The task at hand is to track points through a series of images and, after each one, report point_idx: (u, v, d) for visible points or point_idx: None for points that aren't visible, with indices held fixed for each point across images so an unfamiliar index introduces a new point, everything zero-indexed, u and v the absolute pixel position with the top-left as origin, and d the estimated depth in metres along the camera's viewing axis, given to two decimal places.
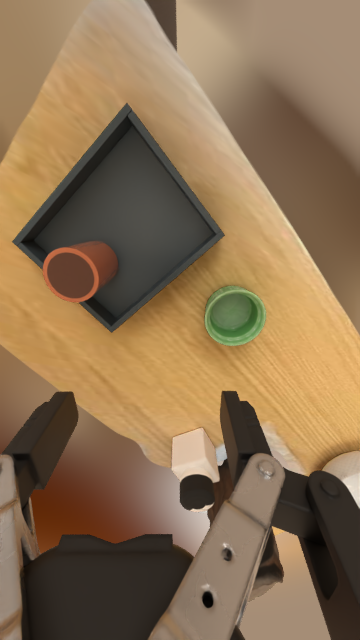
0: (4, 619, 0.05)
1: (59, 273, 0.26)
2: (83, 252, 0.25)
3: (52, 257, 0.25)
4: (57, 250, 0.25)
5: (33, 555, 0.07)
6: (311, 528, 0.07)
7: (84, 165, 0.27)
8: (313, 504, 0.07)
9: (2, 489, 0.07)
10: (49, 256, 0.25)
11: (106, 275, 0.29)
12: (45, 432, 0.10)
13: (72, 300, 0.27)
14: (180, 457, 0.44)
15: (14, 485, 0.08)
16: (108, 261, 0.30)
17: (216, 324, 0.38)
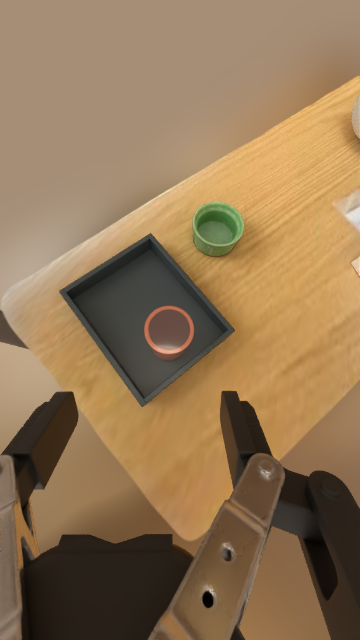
0: (4, 619, 0.05)
1: (166, 338, 0.28)
2: (149, 315, 0.29)
3: (151, 341, 0.28)
4: (146, 335, 0.28)
5: (33, 555, 0.07)
6: (311, 528, 0.07)
7: (91, 327, 0.34)
8: (313, 504, 0.07)
9: (2, 489, 0.07)
10: (150, 343, 0.28)
11: None
12: (45, 432, 0.10)
13: (192, 332, 0.29)
14: None
15: (14, 485, 0.08)
16: None
17: None
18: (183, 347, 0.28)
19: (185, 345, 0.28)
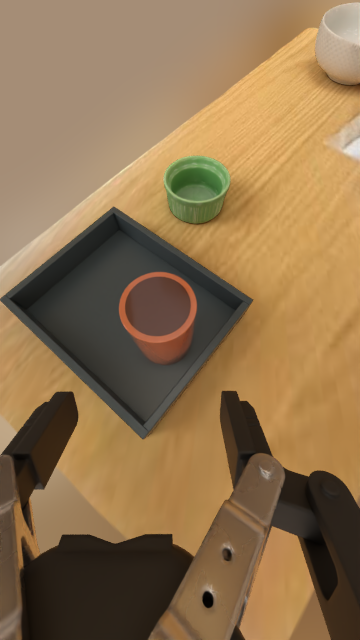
0: (4, 619, 0.05)
1: (155, 320, 0.18)
2: (124, 291, 0.19)
3: (133, 328, 0.18)
4: (123, 321, 0.18)
5: (33, 555, 0.07)
6: (311, 528, 0.07)
7: (49, 338, 0.24)
8: (313, 504, 0.07)
9: (2, 489, 0.07)
10: (132, 332, 0.17)
11: None
12: (45, 432, 0.10)
13: (194, 303, 0.18)
14: None
15: (14, 485, 0.08)
16: None
17: None
18: (185, 327, 0.18)
19: (188, 323, 0.18)
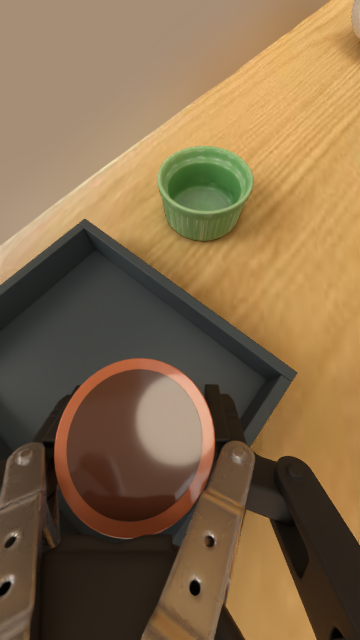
0: (17, 613, 0.05)
1: (129, 475, 0.09)
2: (70, 401, 0.10)
3: (81, 497, 0.08)
4: (61, 479, 0.08)
5: (54, 546, 0.07)
6: (278, 509, 0.08)
7: None
8: (279, 486, 0.08)
9: (32, 476, 0.08)
10: (78, 508, 0.08)
11: None
12: None
13: (209, 433, 0.09)
14: None
15: (43, 474, 0.08)
16: None
17: None
18: (192, 496, 0.08)
19: (197, 486, 0.08)
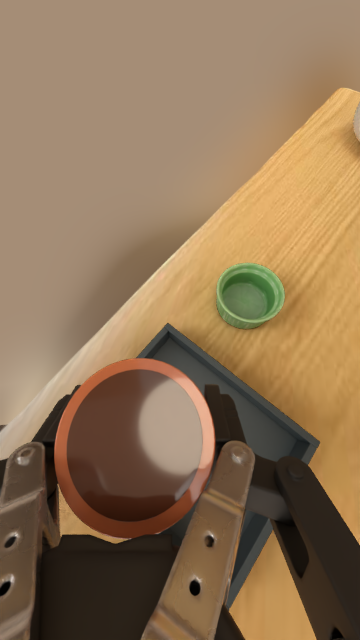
0: (17, 613, 0.05)
1: (129, 475, 0.08)
2: (70, 401, 0.10)
3: (81, 498, 0.08)
4: (61, 479, 0.08)
5: (54, 546, 0.07)
6: (278, 509, 0.08)
7: None
8: (279, 486, 0.08)
9: (32, 476, 0.08)
10: (78, 509, 0.08)
11: None
12: None
13: (209, 433, 0.09)
14: None
15: (43, 474, 0.08)
16: None
17: (264, 313, 0.33)
18: (192, 496, 0.08)
19: (197, 486, 0.08)
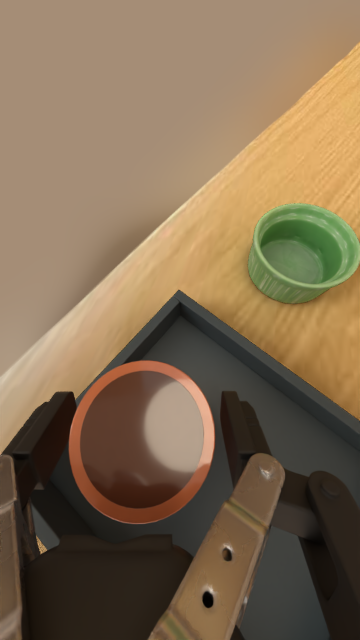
0: (4, 619, 0.05)
1: (137, 467, 0.09)
2: (82, 400, 0.10)
3: (94, 487, 0.09)
4: (75, 470, 0.09)
5: (33, 555, 0.07)
6: (311, 528, 0.07)
7: None
8: (313, 504, 0.07)
9: (2, 489, 0.07)
10: (91, 497, 0.09)
11: None
12: (45, 432, 0.10)
13: (210, 429, 0.10)
14: None
15: (14, 485, 0.08)
16: None
17: (320, 280, 0.23)
18: (194, 485, 0.09)
19: (199, 477, 0.09)
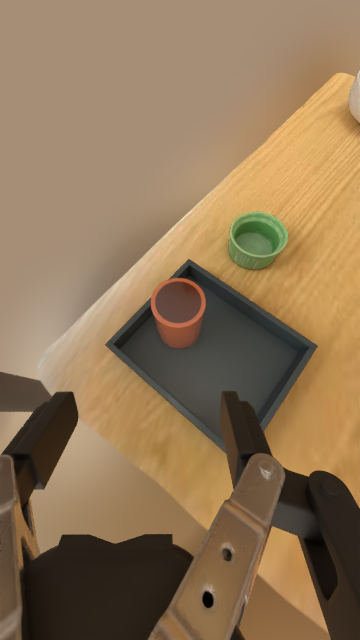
0: (4, 619, 0.05)
1: (177, 312, 0.26)
2: (153, 292, 0.27)
3: (162, 317, 0.25)
4: (154, 313, 0.25)
5: (33, 555, 0.07)
6: (311, 528, 0.07)
7: (152, 379, 0.29)
8: (313, 504, 0.07)
9: (2, 489, 0.07)
10: (161, 320, 0.25)
11: None
12: (45, 432, 0.10)
13: (203, 300, 0.26)
14: None
15: (14, 485, 0.08)
16: None
17: None
18: (198, 316, 0.25)
19: (199, 314, 0.25)
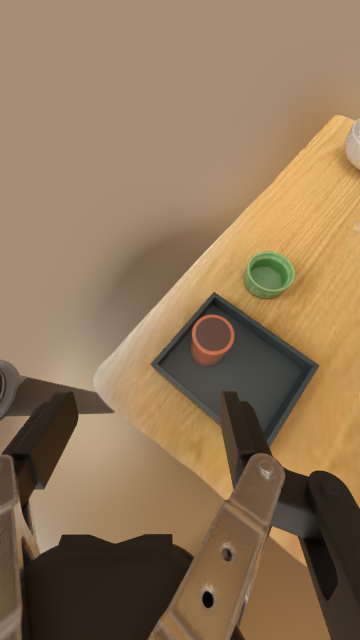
0: (4, 619, 0.05)
1: (212, 342, 0.33)
2: None
3: (201, 346, 0.33)
4: (195, 343, 0.33)
5: (33, 555, 0.07)
6: (311, 528, 0.07)
7: (190, 392, 0.37)
8: (313, 504, 0.07)
9: (2, 489, 0.07)
10: (201, 348, 0.33)
11: None
12: (45, 432, 0.10)
13: (232, 332, 0.34)
14: None
15: (14, 485, 0.08)
16: None
17: (279, 287, 0.47)
18: (229, 346, 0.33)
19: (230, 344, 0.33)
